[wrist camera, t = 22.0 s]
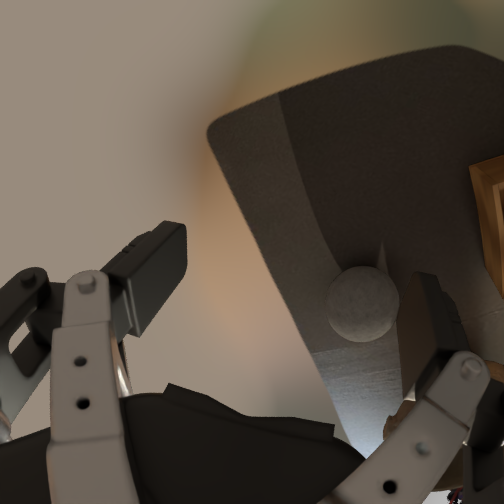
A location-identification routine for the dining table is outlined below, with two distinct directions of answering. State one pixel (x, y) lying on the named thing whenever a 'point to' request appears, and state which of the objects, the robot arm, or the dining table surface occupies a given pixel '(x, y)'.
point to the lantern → (455, 495)
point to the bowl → (455, 469)
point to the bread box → (491, 214)
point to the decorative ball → (362, 304)
